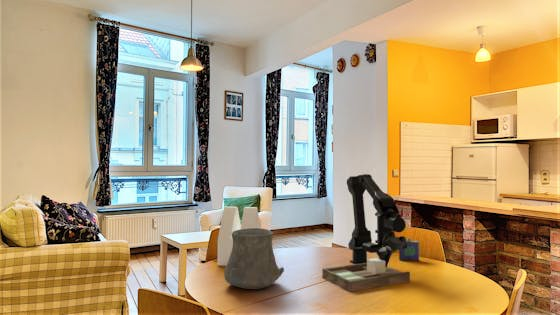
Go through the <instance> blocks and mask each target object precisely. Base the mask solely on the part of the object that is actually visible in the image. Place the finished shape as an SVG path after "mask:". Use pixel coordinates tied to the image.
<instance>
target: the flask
mask: <svg viewBox="0 0 560 315" xmlns="http://www.w3.org/2000/svg"><path fill="white" fill-rule="evenodd" d="M406 243H407V248H405V249H402V250H398V259H399V261H401V262H419V261H420V242H419V241H418V240H412V238H411V237H408V238H407V239H406Z"/></svg>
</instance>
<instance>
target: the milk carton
mask: <svg viewBox="0 0 560 315" xmlns="http://www.w3.org/2000/svg"><path fill="white" fill-rule="evenodd" d="M221 216H222V217H221V222H220V225H219V231H218V236H217V266H221V267H222V266H225V267H226V265H227V262H228V260H229V257H230V254H231V251H232V247H233V239H232V234H231V233H232V232H234V231H236V230H241V229H248V228H260V229H262V228H261V222H260V215H259V210H258V207H257V206H255V207H253V206H250V207H249V206H244V207H243V210H242V218H240V213H239V208H238V206H224V207H223V211H222V215H221Z"/></svg>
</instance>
